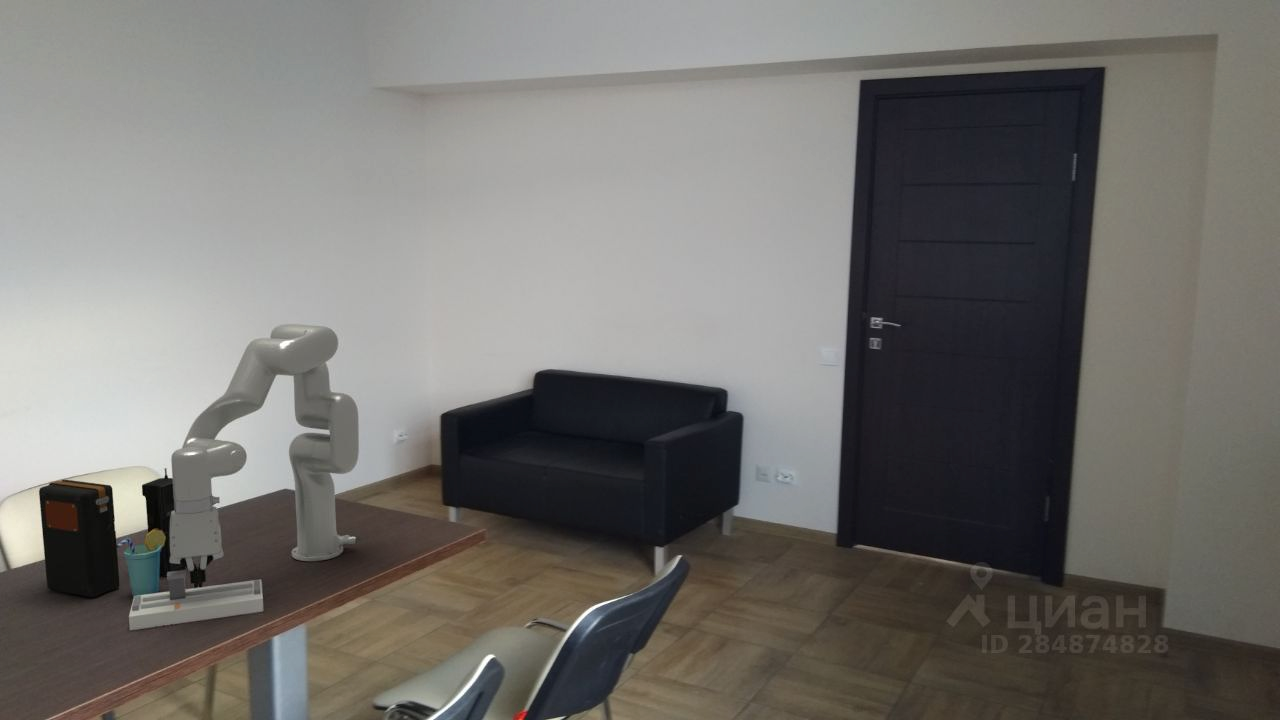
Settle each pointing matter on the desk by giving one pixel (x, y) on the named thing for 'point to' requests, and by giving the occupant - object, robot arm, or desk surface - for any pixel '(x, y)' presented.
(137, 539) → the desk surface
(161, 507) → the portable radio
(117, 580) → the black speaker
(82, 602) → the desk surface
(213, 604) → the slider track base
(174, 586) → the fader tab
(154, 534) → the cup
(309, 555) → the robot arm
